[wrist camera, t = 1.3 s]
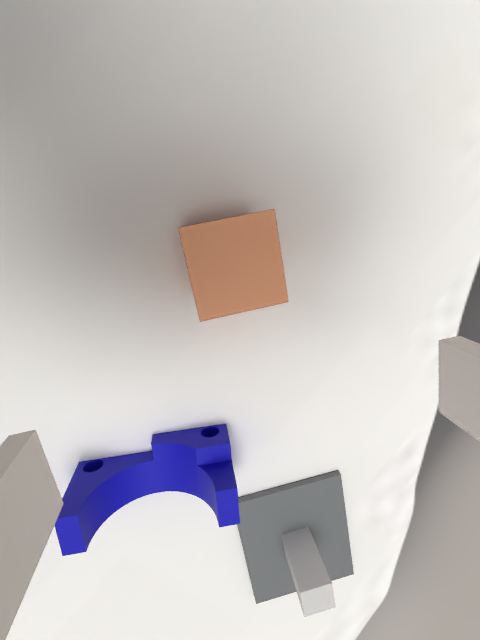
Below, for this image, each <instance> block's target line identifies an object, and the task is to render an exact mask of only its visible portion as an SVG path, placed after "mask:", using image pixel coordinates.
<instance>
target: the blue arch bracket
mask: <svg viewBox="0 0 480 640" xmlns="http://www.w3.org/2000/svg"><path fill="white" fill-rule="evenodd" d="M151 445H152V451H148V452H141V453H135V454H128V455H122V456H115V457H108V458H102V459H95V460H89V461H82V462H79V463H78V466H77V468H76V470H75V472H74V474H73V477H72V479H71V481H70V483H69V486H68V488H67V490H66V492H65V494H64V497H63V499H62V501H63V503H64V504H63V506H62V508H61V511H60V513H59V516H58V518H57V520H56V523H55V528H56V532H57V536H58V540H59V544H60V548H61V551H62V555H63V556H65V555H71V554H76V553H81V552H86V551H87V548H88V545H89V543H90V541H91V539H92V537H93V536H94V534H95V533H96V531H97V530H98V528H99V527H100V526H101V525H102V524H103V522H104V521H105V520H106V519H107V518H108V517H110V516H111V515H112V514H113V513H114V512H116V511H117V510H118V509H120V508H121V507H123V506H124V505H126V504H128V503H129V502H131V501H133V500H135V499H137V498H140V497H143V496H145V495H149V494H152V493H157V492H164V491H180V492H186V493H189V494H192V495H195V496H197V497H199V498H201V499H202V500H204V501H205V502H206V503H207V504H208V505H209V506H210V507H211V508H212V509H213V511H214V513H215V515H216V517H217V520H218V523H219V527H224V526H229V525H235V524H240V515H239V504H238V492H237V485H236V480H235V475H234V470H233V465H232V459H231V448H230V441H229V436H228V431H227V426H226V424H221V425H214V426H207V427H200V428H193V429H186V430H180V431H173V432H166V433H159V434H153V436H152V442H151Z"/></svg>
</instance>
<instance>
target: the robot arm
mask: <svg viewBox="0 0 480 640" xmlns="http://www.w3.org/2000/svg"><path fill="white" fill-rule="evenodd" d="M439 412H440V413H441V414H443V415H444V416H445V417H447V418H448V419H449V420H451V421H452V422H454V423H455V424H456V425H458V426H459V427H461V428H462V429H463V430H465V431H466V432H467V433H469V434H470V435H471V436H473V437H474V438H475V439H477V440H478V441H480V344H478V343H476V342H473V341H471V340H468V339H466V338H463V337H460V336H456V337H452V338H447V339H443V340H439ZM63 504H64V503H63V501H62V498H61V496H60V493H59V490H58V488H57V485H56V482H55V480H54V477H53V474H52V472H51V469H50V467H49V464H48V461H47V459H46V456H45V453H44V451H43V448H42V445H41V443H40V440H39V438H38V435H37V432H36V430H33V431H28V432H24V433H19V434H15V435H10V436H8V437H7V439H6V440H5V441H4V442H3V443H2V445H1V446H0V640H5V639H6V637H7V635H8V632H9V630H10V628H11V625H12V623H13V621H14V618H15V616H16V614H17V611H18V609H19V607H20V604H21V602H22V600H23V597H24V595H25V593H26V590H27V588H28V586H29V583H30V581H31V579H32V576H33V574H34V572H35V569H36V567H37V565H38V562H39V560H40V558H41V555H42V553H43V551H44V548H45V546H46V544H47V541H48V539H49V537H50V534H51V532H52V530H53V527H54V525H55V523H56V520H57V518H58V516H59V513H60V511H61V508H62V506H63Z"/></svg>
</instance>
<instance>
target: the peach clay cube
mask: <svg viewBox="0 0 480 640" xmlns="http://www.w3.org/2000/svg"><path fill="white" fill-rule="evenodd" d="M178 229H179V233H180V237H181V242H182V246H183V251H184V255H185V259H186V264H187V268H188V272H189V277H190V281H191V285H192V290H193V294H194V298H195V303H196V307H197V311H198V316H199V320H200V322H201V321H205V320H210V319H214V318H219V317H223V316H228V315H232V314H237V313H241V312H246V311H250V310H255V309H259V308H264V307H268V306H273V305H277V304H282V303H286V302H288V295H287V289H286V282H285V276H284V269H283V263H282V256H281V250H280V243H279V237H278V230H277V224H276V217H275V211H274V209H271V210H266V211H261V212H256V213H251V214H246V215H241V216H236V217H230V218H225V219H220V220H215V221H210V222H205V223H200V224H195V225H190V226H185V227H179V228H178Z"/></svg>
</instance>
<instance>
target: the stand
mask: <svg viewBox="0 0 480 640" xmlns="http://www.w3.org/2000/svg"><path fill="white" fill-rule="evenodd" d="M238 504H239V515H240V524H237V525H238V529H239V533H240V538H241V542H242V546H243V550H244V554H245V558H246V563H247V567H248V571H249V575H250V579H251V584H252V588H253V592H254V596H255V600H256V604H257V603H261V602H264V601H267V600H270V599H274V598H277V597H280V596H283V595H287V594H290V593H293V592H297V594H298V597H299V601H300V604H301V607H302V610H303V614H304V617H306V616H309V615H312V614H315V613H319V612H322V611H325V610H328V609H331V608H335V601H334V594H333V588H332V582H331V581H332V580H336V579H339V578H342V577H346V576H349V575H352V574H354V573H353V565H352V557H351V550H350V542H349V534H348V527H347V519H346V511H345V503H344V496H343V488H342V480H341V474H340V473H339V471H338V470H337V471H334V472H330V473H327V474H323V475H319V476H316V477H312V478H308V479H305V480H301V481H297V482H294V483H290V484H286V485H283V486H279V487H276V488H272V489H268V490H265V491H261V492H257V493H254V494H250V495H246V496H243V497H239V498H238Z"/></svg>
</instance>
